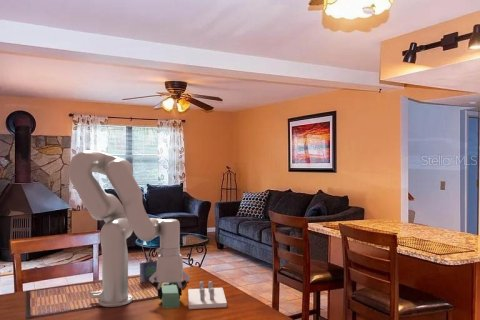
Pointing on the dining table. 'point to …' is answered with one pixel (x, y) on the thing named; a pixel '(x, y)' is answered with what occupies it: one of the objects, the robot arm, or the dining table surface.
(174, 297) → the green boxy piece
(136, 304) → the dining table surface
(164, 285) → the walkie-talkie
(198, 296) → the standoff plate
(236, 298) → the dining table surface
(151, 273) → the flask
